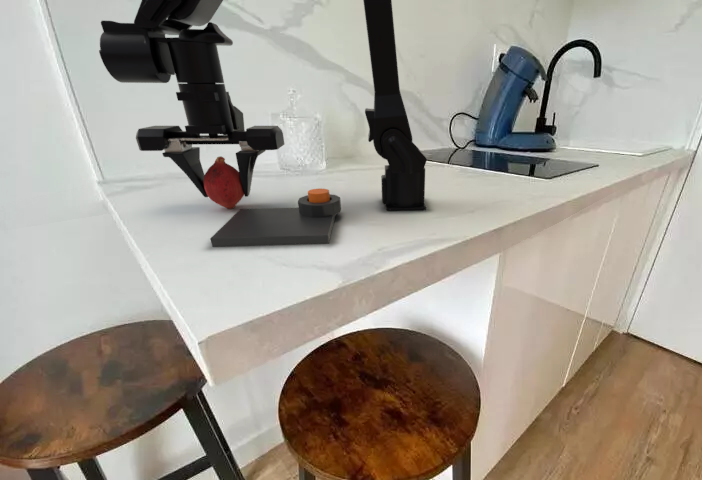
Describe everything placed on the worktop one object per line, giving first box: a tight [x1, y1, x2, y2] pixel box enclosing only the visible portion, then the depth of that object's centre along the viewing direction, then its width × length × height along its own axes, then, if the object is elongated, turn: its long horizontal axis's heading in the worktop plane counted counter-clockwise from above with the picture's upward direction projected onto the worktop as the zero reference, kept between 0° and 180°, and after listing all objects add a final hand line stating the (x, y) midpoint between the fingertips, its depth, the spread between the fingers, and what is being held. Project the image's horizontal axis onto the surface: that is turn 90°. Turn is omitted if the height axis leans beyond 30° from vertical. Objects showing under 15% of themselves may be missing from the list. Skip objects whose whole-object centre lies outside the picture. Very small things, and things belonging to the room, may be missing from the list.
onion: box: [203, 156, 245, 210], centre depth 56 cm, size 6×6×8 cm
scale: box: [209, 193, 342, 248], centre depth 50 cm, size 15×13×3 cm
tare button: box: [307, 188, 330, 203], centre depth 53 cm, size 3×3×2 cm
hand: (227, 196), depth 57 cm, fingers closed on onion, 6 cm apart
